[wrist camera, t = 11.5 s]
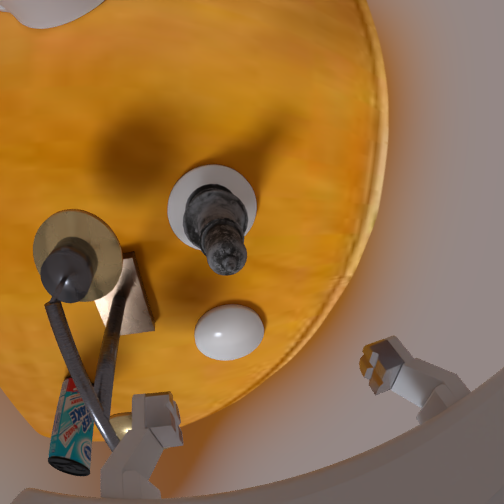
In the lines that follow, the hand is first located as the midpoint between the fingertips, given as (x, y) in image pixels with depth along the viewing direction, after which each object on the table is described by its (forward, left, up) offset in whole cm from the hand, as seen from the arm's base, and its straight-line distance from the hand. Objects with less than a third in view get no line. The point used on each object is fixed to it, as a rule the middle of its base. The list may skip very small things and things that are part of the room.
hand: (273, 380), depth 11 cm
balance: (+9, -12, -22) cm, 27 cm away
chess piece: (0, 0, -21) cm, 21 cm away
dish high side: (+17, 0, -22) cm, 28 cm away
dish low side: (0, 0, -22) cm, 22 cm away
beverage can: (+25, -25, -22) cm, 42 cm away
